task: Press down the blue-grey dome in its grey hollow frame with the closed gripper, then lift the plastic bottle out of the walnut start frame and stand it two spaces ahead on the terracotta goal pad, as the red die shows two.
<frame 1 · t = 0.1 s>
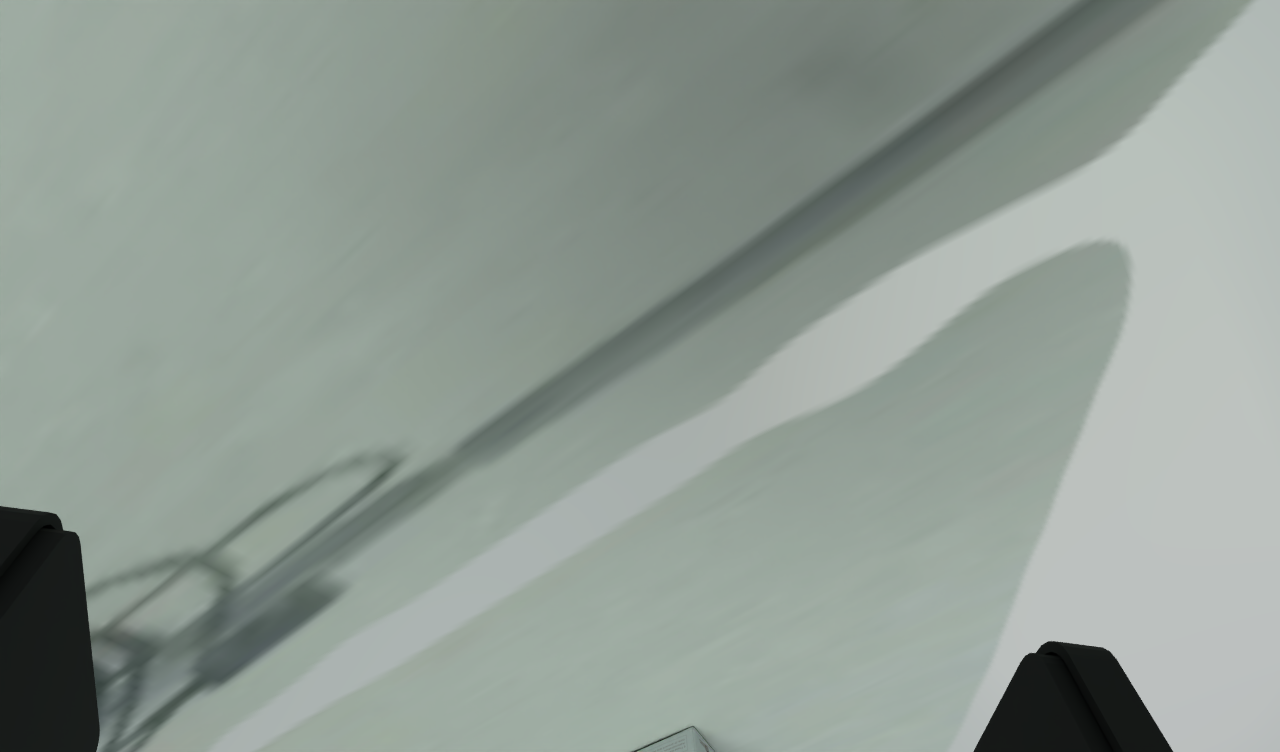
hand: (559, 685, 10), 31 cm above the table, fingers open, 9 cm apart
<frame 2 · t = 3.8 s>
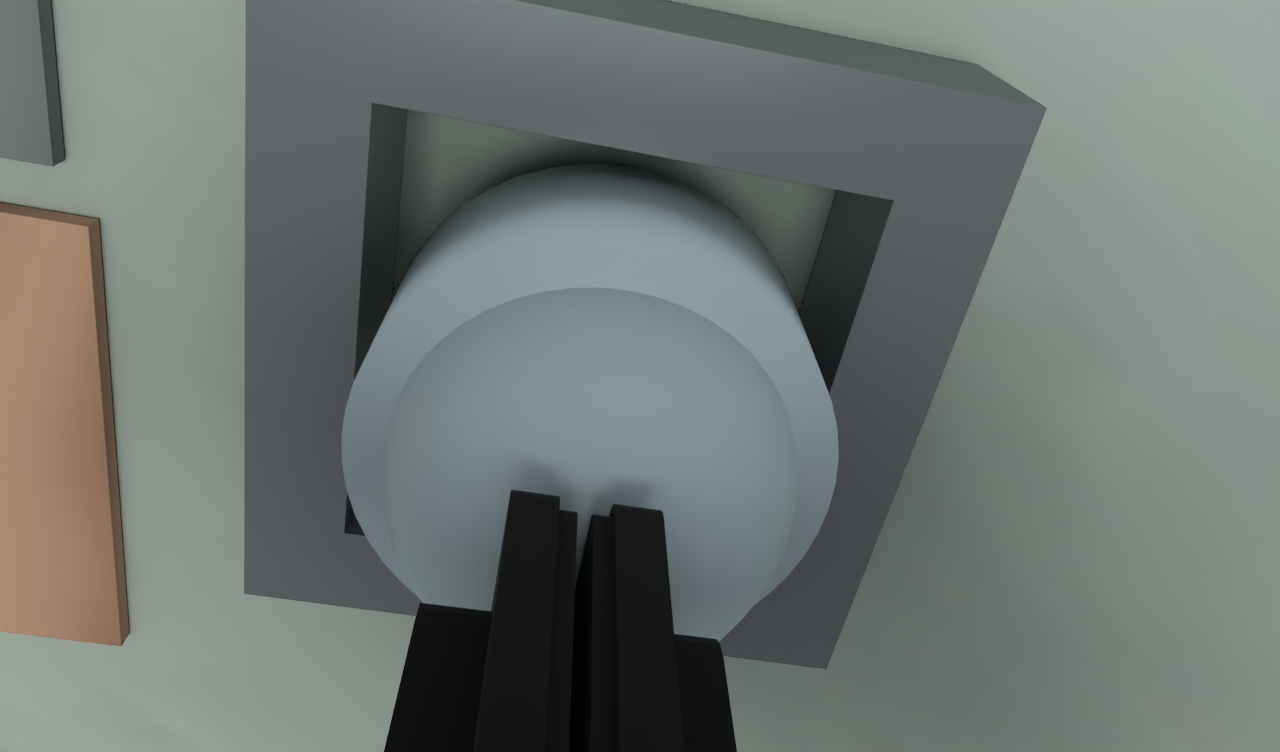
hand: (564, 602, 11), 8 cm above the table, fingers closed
grey hollow frame: (598, 303, 18), on the table
dome: (592, 465, 14), point 5 cm above the table, slide at 0.2 cm, touching gripper
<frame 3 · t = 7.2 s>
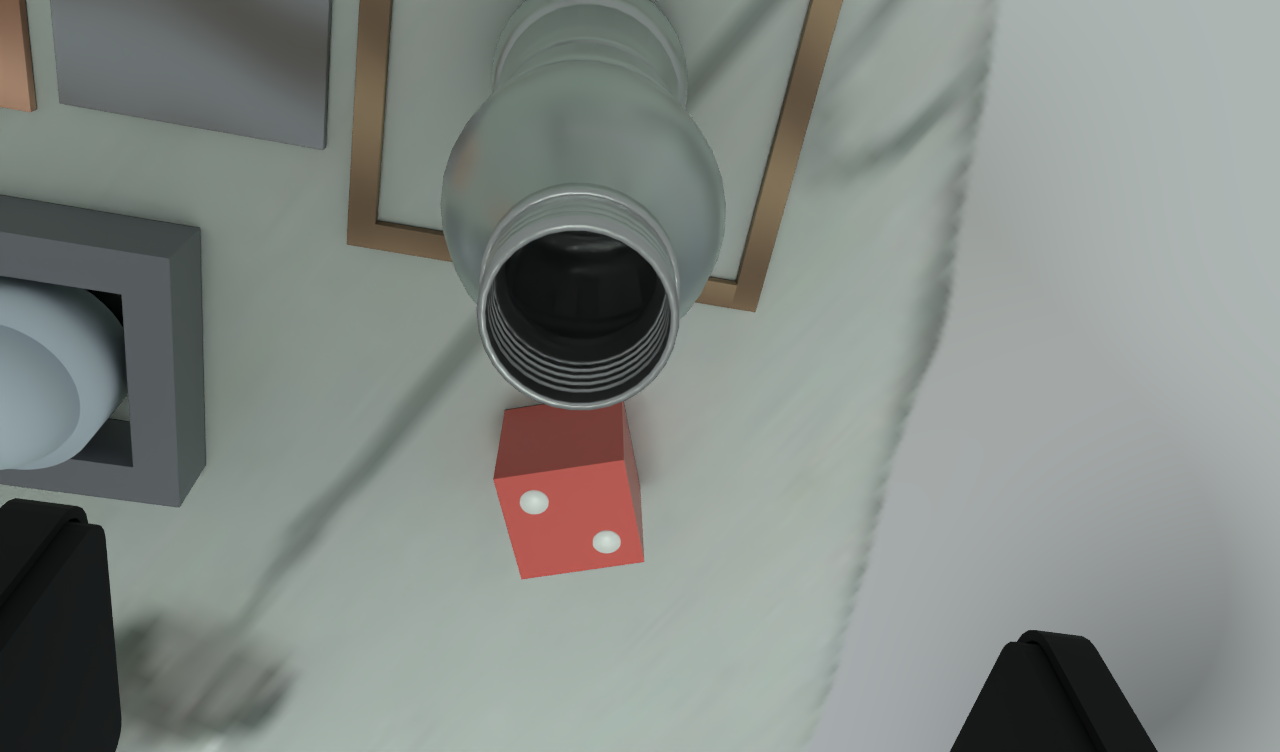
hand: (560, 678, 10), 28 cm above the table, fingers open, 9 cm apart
red die: (574, 449, 42), on the table
grey hollow frame: (59, 333, 39), on the table
plastic bottle: (591, 68, 35), resting in game track
game track: (301, 13, 33), on the table
dome: (0, 388, 35), point 4 cm above the table, slide at 1.2 cm
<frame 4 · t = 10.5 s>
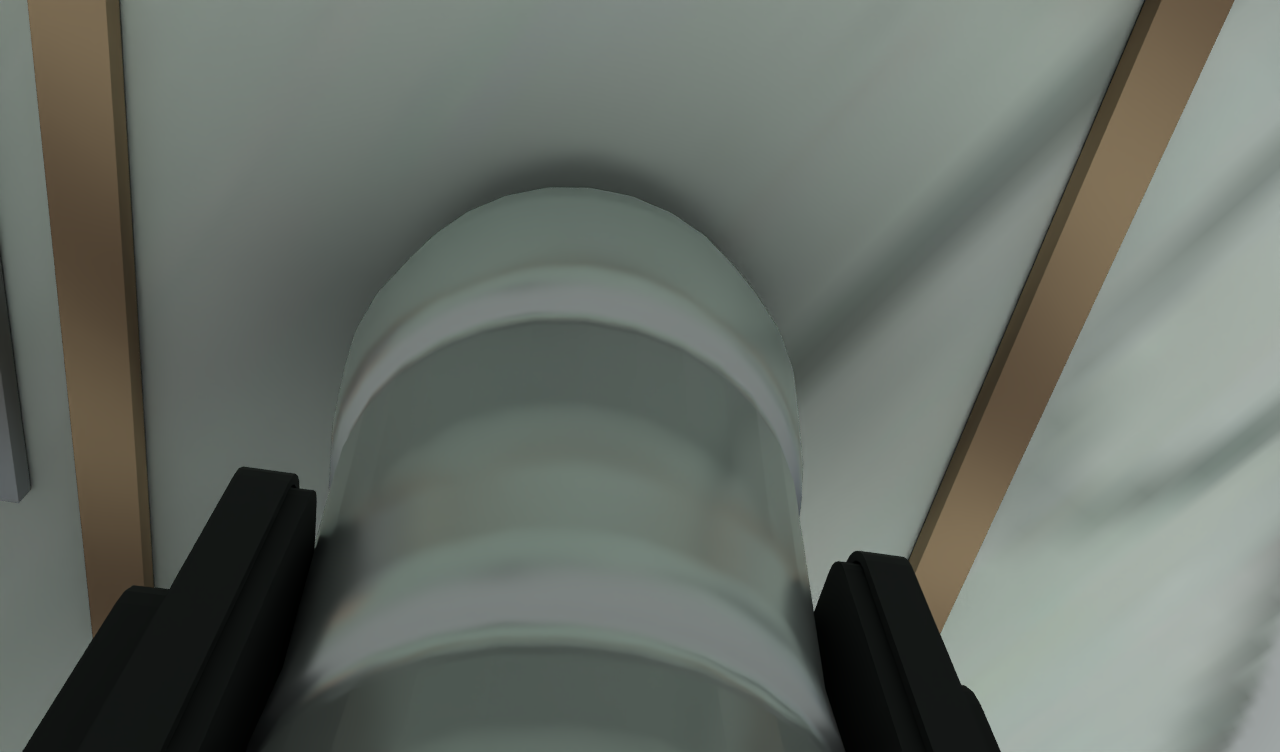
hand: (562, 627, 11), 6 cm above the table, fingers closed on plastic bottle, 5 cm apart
plastic bottle: (577, 341, 16), resting in game track, touching gripper
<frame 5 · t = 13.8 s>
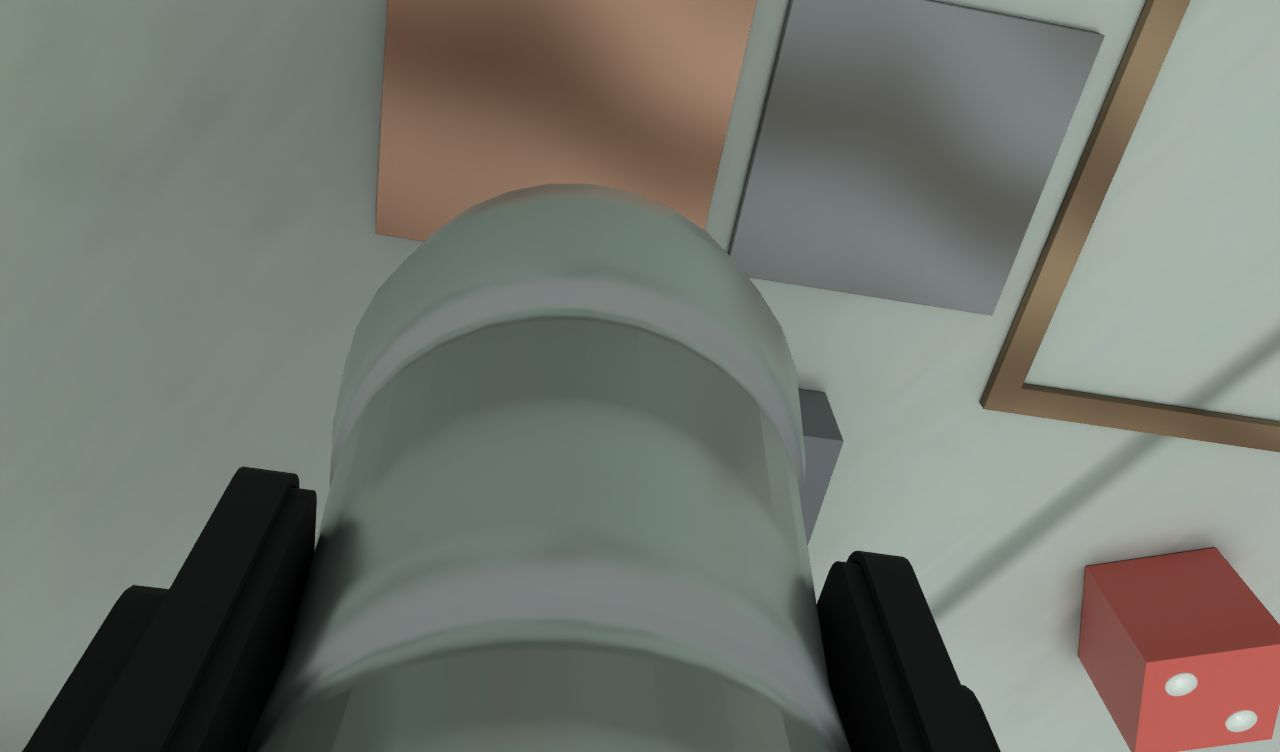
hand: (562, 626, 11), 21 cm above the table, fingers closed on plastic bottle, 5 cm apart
red die: (1144, 604, 39), on the table
grey hollow frame: (641, 498, 36), on the table
plastic bottle: (578, 338, 16), point 14 cm above the table, touching gripper
game track: (1009, 176, 30), on the table
when the fingers open (8 cm above the table, at t = 17.0 s): plastic bottle moves 1 cm, resting on game track.
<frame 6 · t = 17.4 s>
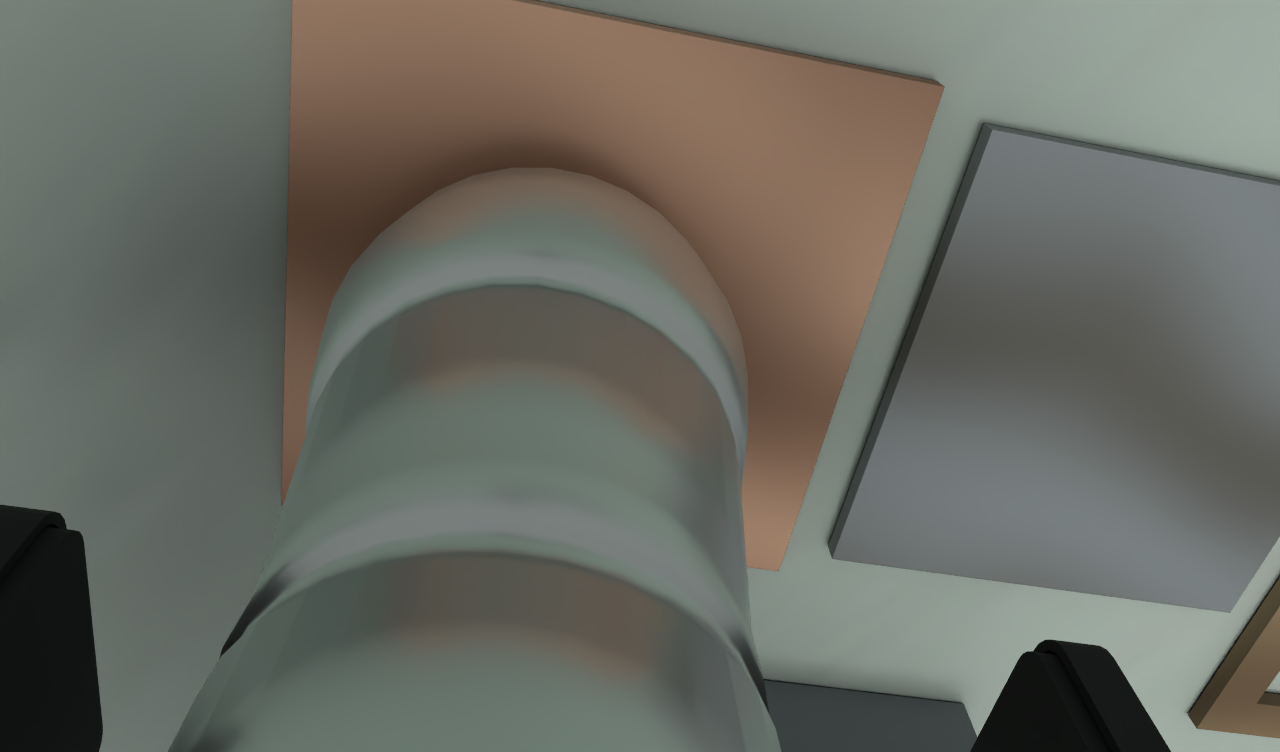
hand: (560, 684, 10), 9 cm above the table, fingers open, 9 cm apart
plastic bottle: (546, 315, 17), resting on game track
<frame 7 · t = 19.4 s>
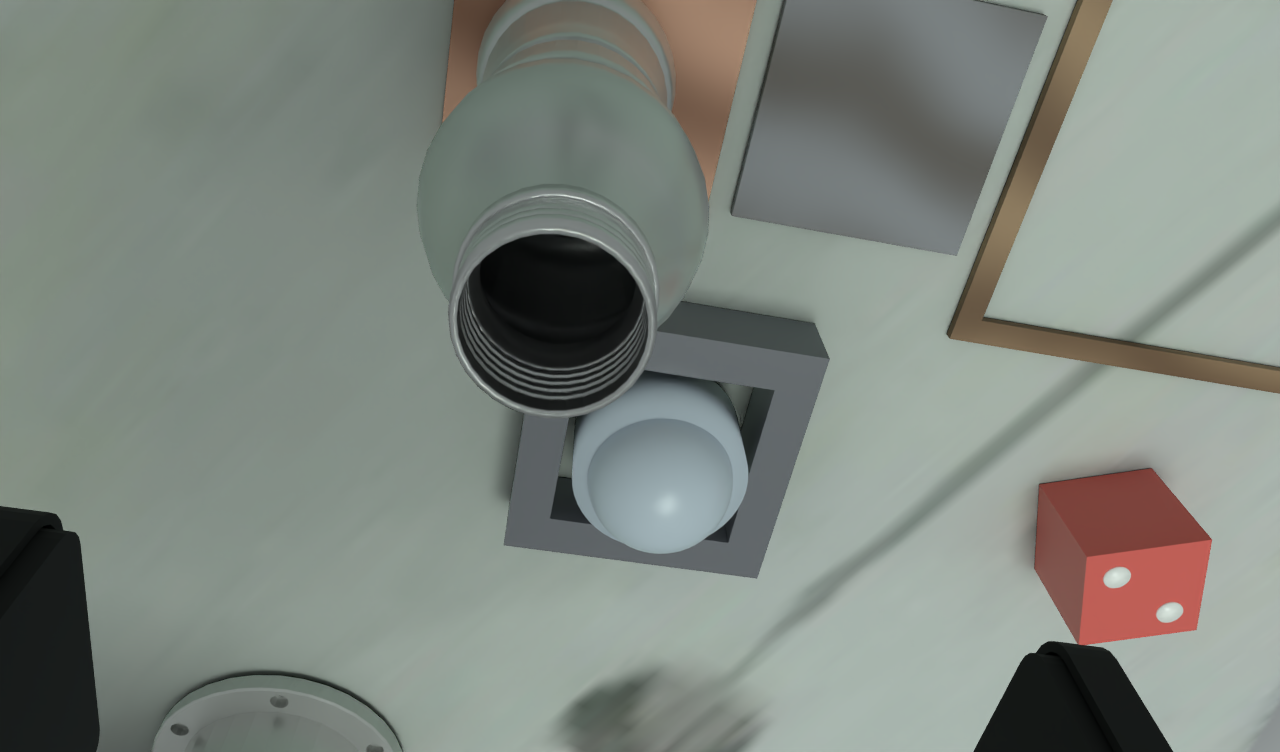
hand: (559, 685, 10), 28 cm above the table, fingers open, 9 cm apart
red die: (1091, 519, 45), on the table
grey hollow frame: (655, 416, 42), on the table
plastic bottle: (578, 65, 34), resting on game track
game track: (970, 135, 36), on the table
dome: (660, 476, 38), point 4 cm above the table, slide at 1.2 cm
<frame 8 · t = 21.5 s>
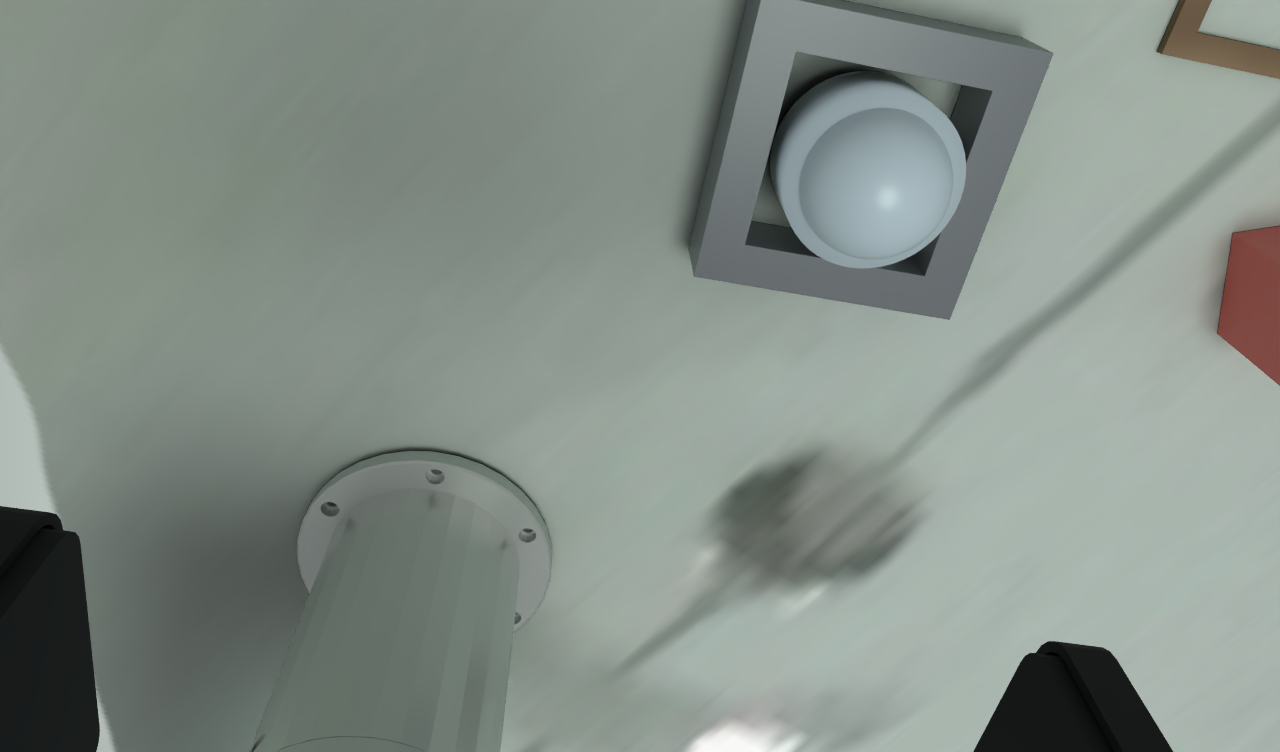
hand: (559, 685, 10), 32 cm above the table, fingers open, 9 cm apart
grey hollow frame: (847, 148, 40), on the table
dome: (873, 182, 36), point 4 cm above the table, slide at 1.2 cm
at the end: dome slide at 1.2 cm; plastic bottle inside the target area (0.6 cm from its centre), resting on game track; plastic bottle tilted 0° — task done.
